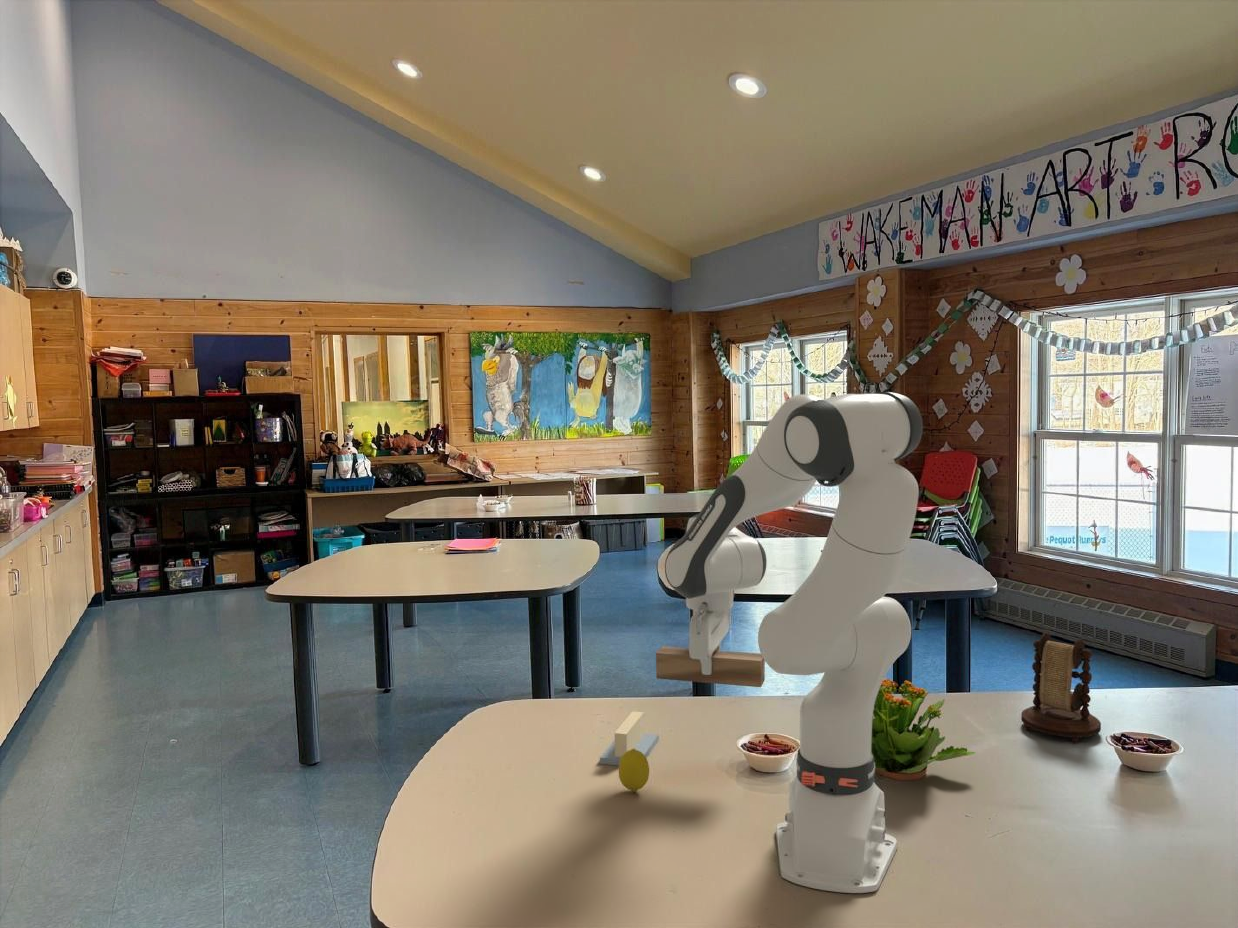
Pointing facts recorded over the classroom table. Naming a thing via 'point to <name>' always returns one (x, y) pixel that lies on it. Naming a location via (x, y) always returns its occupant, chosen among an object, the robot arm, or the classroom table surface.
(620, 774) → the lemon
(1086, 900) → the classroom table surface
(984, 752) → the classroom table surface
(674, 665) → the walnut bar
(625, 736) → the fulcrum
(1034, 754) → the classroom table surface
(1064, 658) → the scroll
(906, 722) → the potted flower
